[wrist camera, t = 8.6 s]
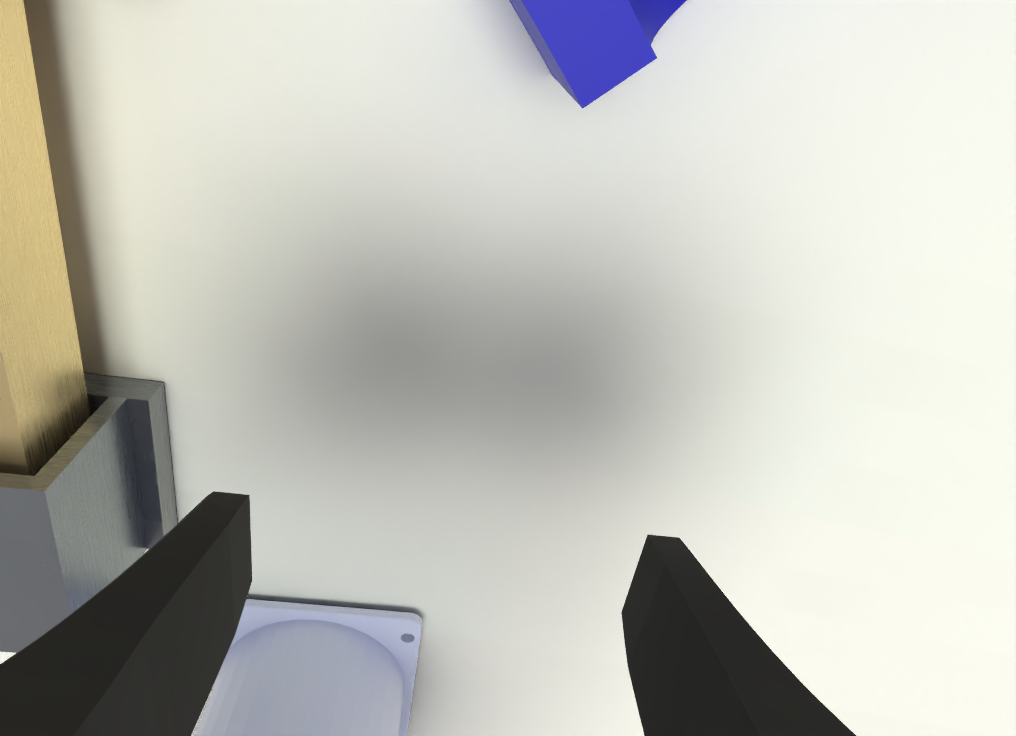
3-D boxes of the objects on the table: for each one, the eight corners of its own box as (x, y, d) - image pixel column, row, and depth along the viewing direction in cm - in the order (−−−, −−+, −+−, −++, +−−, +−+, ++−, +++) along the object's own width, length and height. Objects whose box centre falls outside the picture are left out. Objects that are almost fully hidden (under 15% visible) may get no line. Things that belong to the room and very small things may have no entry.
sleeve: (178, 527, 24) (102, 658, 19) (-3, 510, 23) (-127, 641, 18) (163, 382, 21) (70, 493, 16) (-42, 358, 20) (-202, 467, 16)
